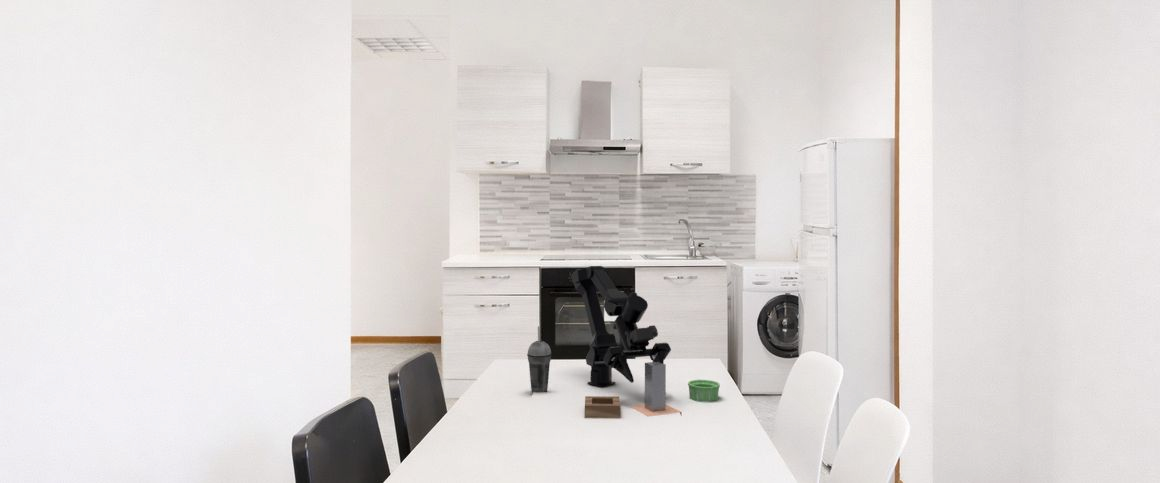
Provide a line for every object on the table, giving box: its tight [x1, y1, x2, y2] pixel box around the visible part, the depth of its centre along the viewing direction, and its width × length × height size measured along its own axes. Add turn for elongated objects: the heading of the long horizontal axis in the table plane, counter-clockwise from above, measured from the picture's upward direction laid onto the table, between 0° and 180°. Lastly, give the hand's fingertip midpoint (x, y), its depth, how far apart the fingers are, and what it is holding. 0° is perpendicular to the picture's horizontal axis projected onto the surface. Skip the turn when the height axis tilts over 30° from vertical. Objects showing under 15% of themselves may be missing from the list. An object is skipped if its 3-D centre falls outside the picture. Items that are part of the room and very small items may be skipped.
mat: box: [629, 403, 683, 417], centre depth 165 cm, size 10×10×1 cm
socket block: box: [584, 395, 621, 419], centre depth 161 cm, size 9×9×4 cm
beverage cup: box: [527, 326, 552, 395], centre depth 184 cm, size 7×7×20 cm
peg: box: [644, 361, 667, 412], centre depth 165 cm, size 4×4×12 cm
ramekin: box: [687, 379, 721, 402], centre depth 179 cm, size 9×9×4 cm
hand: (647, 380), depth 168 cm, fingers open, 9 cm apart
